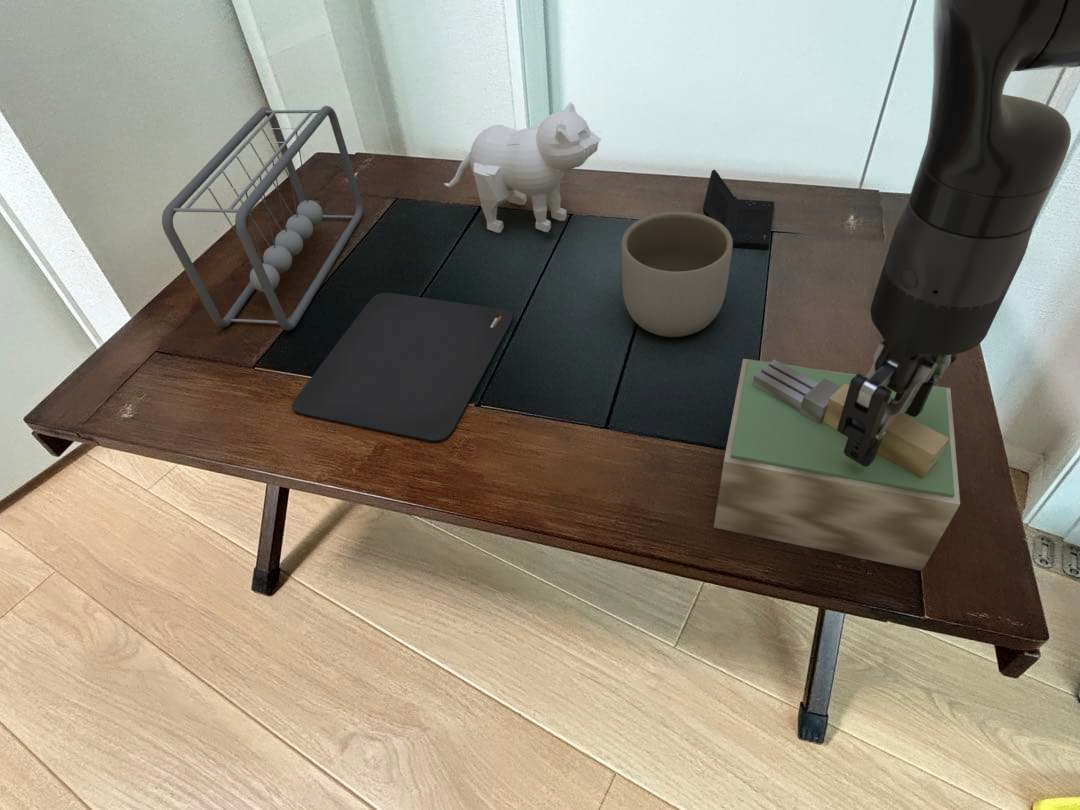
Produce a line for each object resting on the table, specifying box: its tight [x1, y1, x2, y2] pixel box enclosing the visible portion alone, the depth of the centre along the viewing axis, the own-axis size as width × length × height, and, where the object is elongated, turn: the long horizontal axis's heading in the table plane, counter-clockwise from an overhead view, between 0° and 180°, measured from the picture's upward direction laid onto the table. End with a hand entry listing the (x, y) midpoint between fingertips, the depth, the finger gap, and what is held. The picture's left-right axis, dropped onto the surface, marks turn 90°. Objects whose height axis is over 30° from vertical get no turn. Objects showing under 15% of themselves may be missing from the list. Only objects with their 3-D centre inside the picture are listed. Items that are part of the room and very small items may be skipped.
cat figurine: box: [443, 101, 602, 234], centre depth 101 cm, size 25×10×17 cm, turn 71°
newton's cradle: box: [161, 105, 364, 331], centre depth 97 cm, size 30×10×18 cm, turn 170°
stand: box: [713, 358, 961, 572], centre depth 66 cm, size 18×13×10 cm
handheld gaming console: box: [702, 169, 775, 250], centre depth 99 cm, size 12×7×10 cm
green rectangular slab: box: [731, 359, 955, 498], centre depth 62 cm, size 17×12×1 cm
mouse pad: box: [291, 292, 514, 443], centre depth 87 cm, size 23×20×1 cm
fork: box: [753, 358, 949, 479], centre depth 61 cm, size 16×3×3 cm, turn 42°
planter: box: [620, 210, 734, 338], centre depth 85 cm, size 12×12×11 cm
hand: (882, 433), depth 59 cm, fingers open, 7 cm apart
